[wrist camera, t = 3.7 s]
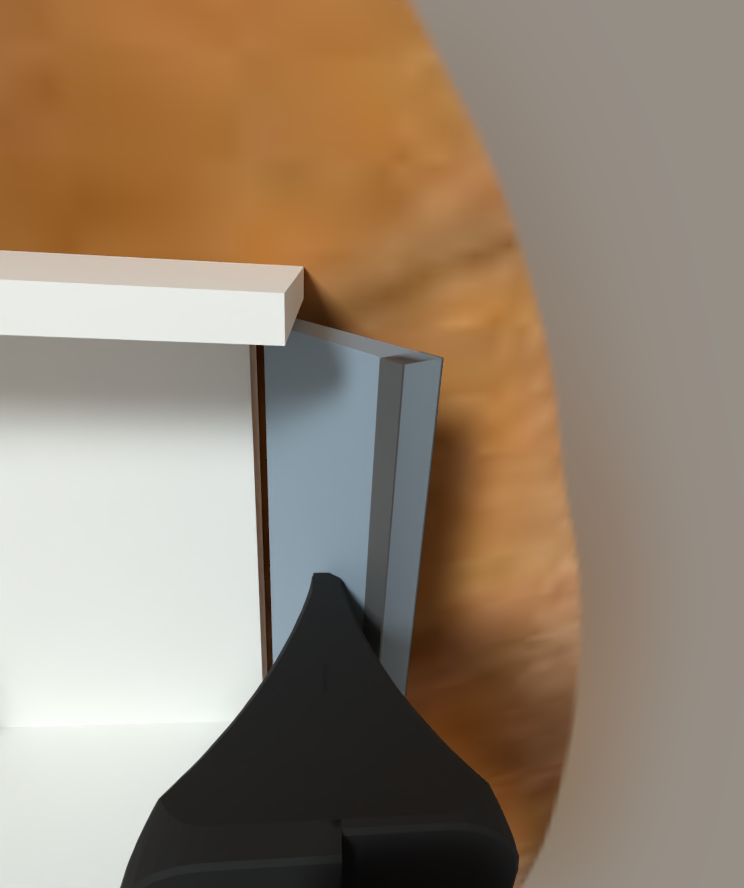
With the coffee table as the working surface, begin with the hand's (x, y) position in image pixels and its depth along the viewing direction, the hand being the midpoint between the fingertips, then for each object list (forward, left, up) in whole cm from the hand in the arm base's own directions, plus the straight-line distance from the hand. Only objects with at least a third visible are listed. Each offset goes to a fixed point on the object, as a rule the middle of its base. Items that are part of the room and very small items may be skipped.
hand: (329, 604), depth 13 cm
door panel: (0, +1, -3) cm, 3 cm away
